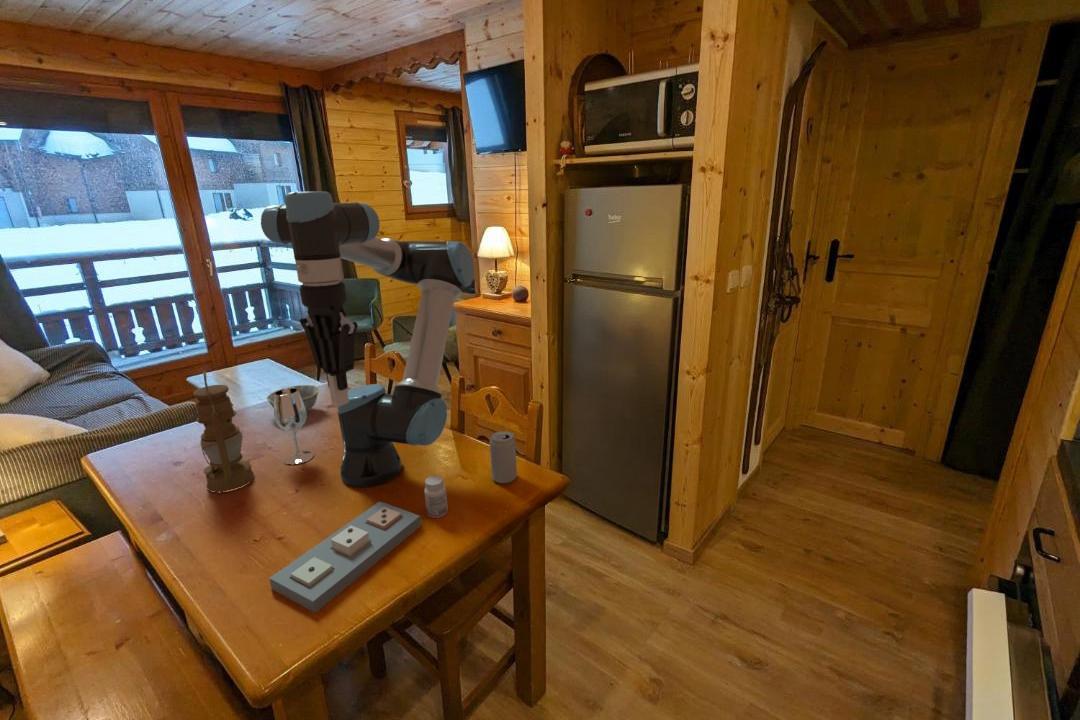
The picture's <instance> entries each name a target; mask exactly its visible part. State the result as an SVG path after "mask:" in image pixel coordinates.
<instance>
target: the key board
mask: <svg viewBox="0 0 1080 720" xmlns="http://www.w3.org/2000/svg"><path fill="white" fill-rule="evenodd" d="M383 507H385V508H388V509H391V510H394V511H396V512H399V513H401V518H400V519H399V520H398V521H396V522H395V523H394V524H392V525H391V526H390V527H388V528H387V529H386V530H385V531H384V530H381V529H379V528H376V527H374V526H371V525H369V524H367V519H368V518H369V517H371V516H372V515H374V514H375V513H376V512H378V511H379V510H381V509H382V508H383ZM421 520H422V519H421V515H419V514H416V513H413V512H410V511H408V510H405V509H403V508H399V507H397V506H394V505H391V504H389V503H385V502H383V501H378V502H377V503H375V504H373V505H372V506H371V507H369V508H368V509H366V510H365V511H364V512H363V513H361V514H359V515H358V516H356V517H355V518H354V519H352V520H351V521H349V522H348V523H346V524H345V525H343V526H342V527H341V528H339V529H338V530H336V531H335V532H334V533H332V534H331V535H329V536H328V537H326V538H325V539H323V540H322V541H321V542H319V543H318V544H316V545H315V546H314V547H312V548H310V549H309V550H307V551H306V552H304V553H303V554H302V555H300V556H299V557H297V558H296V559H295V560H293V561H291V562H290V563H288V564H287V565H286V566H285V567H283V568H282V569H280V570H278V571H277V572H276V573H274V574H273V575H271V576H270V577H269V578H268V579H269V583H270V587H271V590H273V591H274V592H276V593H278V594H280V595H281V596H283V597H285V598H287V599H289V600H291V601H292V602H294V603H296V604H298V605H300V606H301V607H304V608H305V609H307V610H309V611H311V612H313V613H315V614H316V613H317V612H319V610H321V609H322V608H324V606H326V605H327V604H328V603H329V602H330V601H332V600H333V599H334V598H335V597H337V596H338V595H339V594H340V593H341V592H343V591H344V590H346V588H347V587H349V586H350V585H351V584H352V583H353V582H355V581H356V580H357V579H359V578H360V577H361V576H362V575H364V574H365V573H366V572H368V571H369V569H370V568H372V567H373V566H374V565H375V564H377V563H378V562H379V561H380V560H382V559H383V558H384V557H385V556H386V555H387V554H389V553H390V552H391V551H393V549H395V548H396V547H398V545H400V544H401V543H402V542H403V541H404V540H406V538H408V537H409V536H410V535H411V534H413V533H414V532H415V531H416V530H417V529H419V528H420V527H421V526H422V523H421ZM351 525H352V526H354V527H356V528H359V529H361V530H364V531H366V532H368V533H369V540H370V542H369V543H368V544H366V545H365V546H364V547H362V548H361V549H360V550H359V551H357V552H356V553H355V554H353V555H352V556H351V557H348V556H346V555H343V554H341V553H339V552H337V551H335V550H332V544H331V539H332V538H333V537H335V536H336V535H338V534H339V533H341V532H342V531H343V530H345V529H346V528H348V527H349V526H351ZM313 557H315V558H318V559H320V560H322V561H324V562H326V563H328V564H330V565H332V568H333V571H331V572H330V573H329V574H327V575H326V576H325V577H323V578H322V579H321V580H320V581H318V582H317V583H316V584H314V585H313V586H312V587H310V588H307V587H305V586H303V585H302V584H300V583H298V582H296V581H294V580H292V578H291V573H292V572H294V571H295V570H297V569H298V568H299V567H301V566H302V565H304V564H305V563H306V562H308V561H309V560H311V559H312V558H313Z"/></svg>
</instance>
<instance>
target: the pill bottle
mask: <svg viewBox="0 0 1080 720" xmlns="http://www.w3.org/2000/svg"><path fill="white" fill-rule="evenodd" d="M424 483H425V484H424V485H425V487H424V499H425V501H424V502H425V509H426V514H427V516H428V517H430V518H435V519H437V518H441V517H444V516H445V515H446V514H448V511H449V507H448V498H447V487H446V485H445V483H444V478H443V477H442V476H441V475H438V474H437V475H436V474H435V475H431V476H428V477H427V478H426V479H425V480H424Z"/></svg>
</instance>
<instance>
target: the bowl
mask: <svg viewBox="0 0 1080 720" xmlns="http://www.w3.org/2000/svg"><path fill="white" fill-rule="evenodd" d="M286 388H296V389H297V390H298V392H299V394H300V396H301V398H302V401H303V403H304V406H305V409H306V413H307V412H308V411H310V410H311V409H313V407H314V406H315V404H316V402H317V399H318V394H319V391H320V388H319V387H318V386H316V385H313V384H300V385H299V384H298V385H293V386H288V387H284V388H281V389H278V390H275V391H273V392H271V393H269V394H268V395H267V396H266V400H267V401H268V403H269V404H270V405H271V407H272V408H273V409H274V397H275V392H277V391H279V390H282V389H286ZM308 413H309V412H308ZM308 413H307V414H308Z"/></svg>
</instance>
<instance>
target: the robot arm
mask: <svg viewBox="0 0 1080 720" xmlns="http://www.w3.org/2000/svg"><path fill="white" fill-rule="evenodd" d="M332 196H333V195H332V194H331V193H330V192H328V191H321V190H320V191H314V190H313V191H312V190H311V191H292V192H291V191H290V192H288V193H287V194H286V195H285V197H284V201H285V203H280V204H274V205H268V206H266V207H265V208H264V210H263V211H262V213H261V216H260V217H261V218H260V226H261V227H260V228H261V230H262V233H263V234H264V236H265V237H266V238H267V239H268V240H269V241H271V242H273V243H276V244H283V245H289V244H291V245H292V250H293V257H294V261H295V266H296V268H295V269H296V273H297V280H298V282H299V283H302V284H301V285H300V286H299V288H298V289H299V295H300V300H301V303H302V306H304V307H306V308H307V315H306V316H305V317H302V318H299V323H300V325H301V326H302V328H303V330H304V332H305V335H306V337H307V341H308V343H309V347H310V351H311V353H312V358H313V360H314V363H315V366H316V368H317V369H322V370H323V372H324V374H325V376H326V383H327V387H328V388H329V391H330V392H329V394H330V399H331V405H332V407H335V408H337V415H338V421H339V427H340V433H341V439H342V443H343V456H342V462H341V465H340V470H339V471H340V477H341V482H343V483H344V484H346V485H348V486H350V487H354V488H369V487H373V486H374V487H376V486H378V485H379V486H380V485H381V484H384V483H387V482H389V481H390V480H392V479H395V477H397V476H398V475H399V474H400V472H401V470H402V460H401V457H400V454H399V453H398V451H397V449H396V447H395V445H394V443H397V444H405V445H409V446H430V445H432V444H434V443H435V442H436V441H437V440H438V439H439V437H440V436H441V435H442V432H443V431H444V429H445V426H446V423H447V418H448V412H447V410H448V407H447V403H446V402H445V401H444V400H443V399H442V396H443V395H442V394H443V393H442V392H441V391H440V389H439V387H438V385H439V378H440V374H441V369H442V364H443V359H444V354H445V349H446V344H447V338H448V335H449V334H448V333H449V328H450V324H451V319H452V314H453V309H454V303H455V300H457V299H459V298H460V297H461V296H462V293H463V289H464V287H465V288H467V287H469V286H471V285H472V284H473V281H474V278H475V265H474V264H475V263H474V259H473V255H472V252H471V251H470V249H469V247H468V246H467V245H466V244H465V243H464V242H462V241H451V240H447V241H445V240H444V241H443V240H442V241H441V240H437V241H433V240H432V241H431V240H428V241H424V240H421V241H419V240H409V241H408V240H406V241H404V240H403V241H400V240H396V239H392V238H387V237H386V238H379V237H377V235H378V234H379V232H380V225H381V224H380V223H381V222H380V218H379V215H378V213H377V212H376V210H375V209H374V208H373V207H372V206H371V205H369V204H367V203H360V202H357V201H355V202H336V203H335V202H333V201H334V200H333V197H332ZM342 259H343V260H346V261H349V262H353V263H356V264H359V265H361V266H365V267H369V268H371V269H372V270H373V271H374V272H375V273H377V274H378V275H381V276H384V277H388V278H390V279H394V280H396V281H400V282H403V283H407V284H411V285H417V288H418V289H419V291H420V292H421V296H420V300H419V302H418V308H417V313H416V318H415V322H414V326H413V331H412V336H411V341H410V345H409V351H408V355H407V359H406V364H405V368H404V373H403V377H402V380H401V381H399V382H398V383H397V384H396V383H395V385H394V388H393V393H392V394H391V393H386V392H387V389H386V388H385V386H384V385H382V384H378V383H372V384H364V385H360V386H357V387H354V388H351V389H348V387H349V385H348V378H347V372H349V371H352V370H354V368H355V346H356V345H355V344H356V332H357V330H358V327H359V326H358V325H359V324H358V323H357V321H350V320H349V319H348V318H347V313H346V311H345V308H344V305H345V303H346V302H347V300H348V299H347V292H346V285H345V283H344V282H343V281H342V280H343V279H344V278H345V277H344V276H345V275H344V270H343V261H342Z"/></svg>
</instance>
